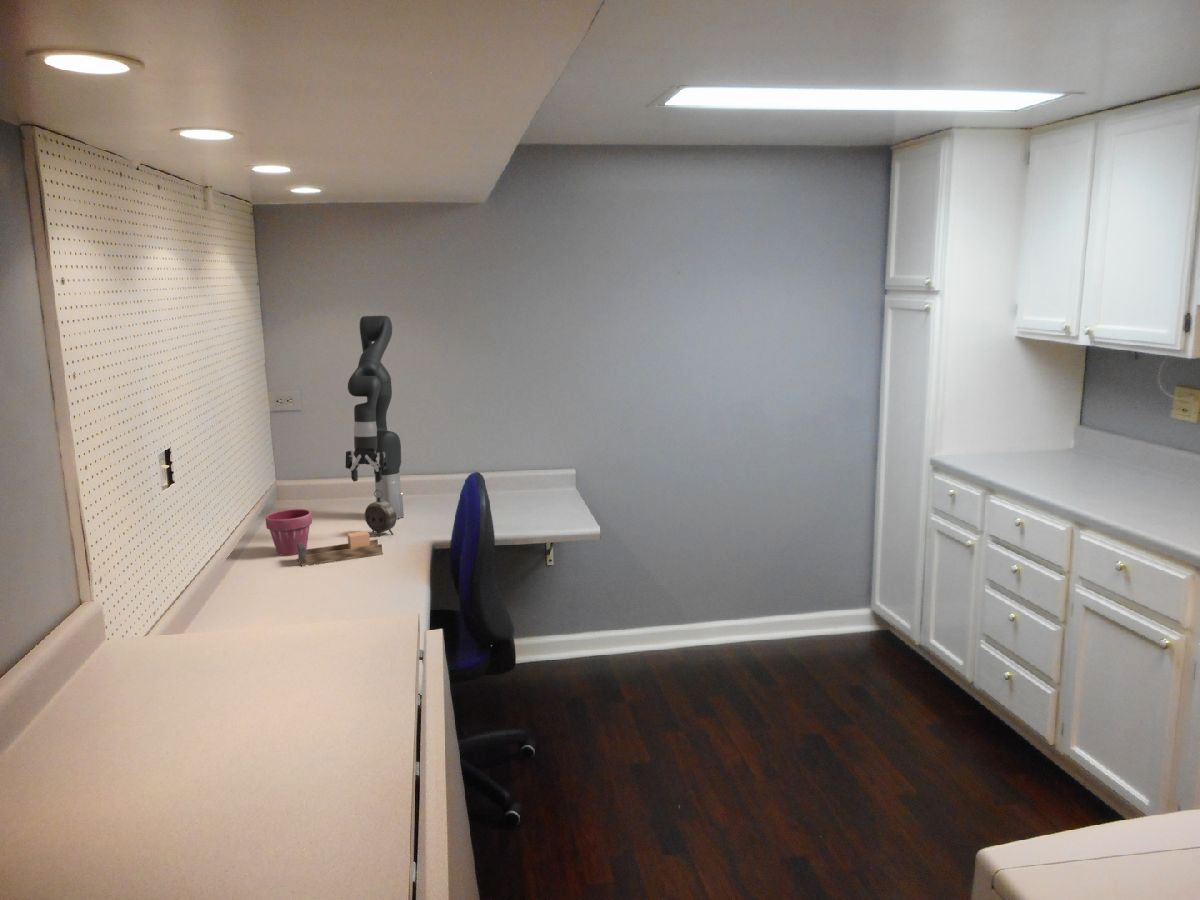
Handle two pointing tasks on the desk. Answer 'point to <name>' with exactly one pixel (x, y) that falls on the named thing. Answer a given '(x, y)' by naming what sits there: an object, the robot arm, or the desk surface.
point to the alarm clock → (380, 516)
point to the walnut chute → (336, 553)
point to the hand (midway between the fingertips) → (366, 481)
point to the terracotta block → (358, 539)
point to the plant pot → (289, 529)
